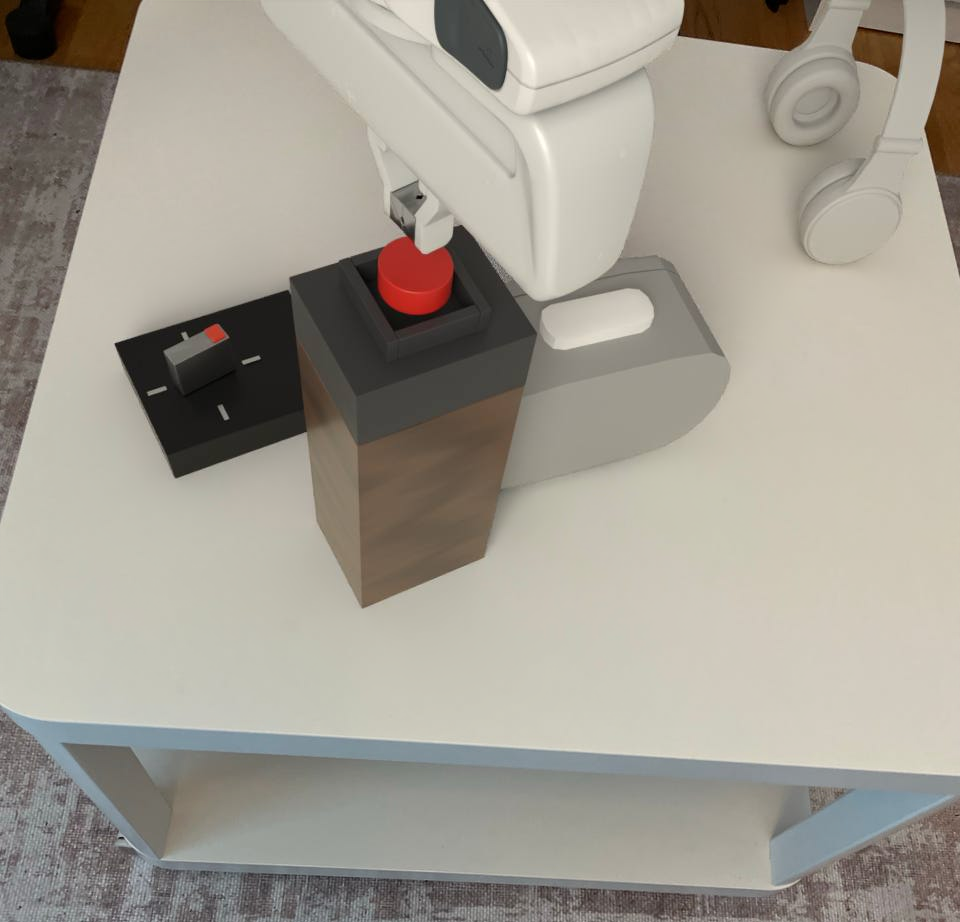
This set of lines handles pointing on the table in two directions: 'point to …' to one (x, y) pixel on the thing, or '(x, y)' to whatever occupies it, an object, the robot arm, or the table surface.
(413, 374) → the block
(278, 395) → the panel
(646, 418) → the alarm clock
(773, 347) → the table surface
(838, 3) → the headphones
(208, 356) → the knob
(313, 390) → the pillar
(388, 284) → the button
